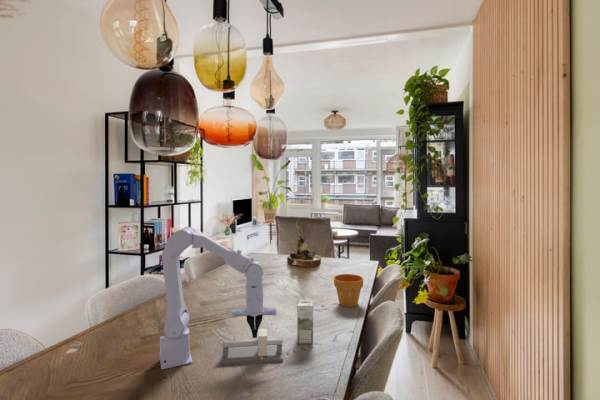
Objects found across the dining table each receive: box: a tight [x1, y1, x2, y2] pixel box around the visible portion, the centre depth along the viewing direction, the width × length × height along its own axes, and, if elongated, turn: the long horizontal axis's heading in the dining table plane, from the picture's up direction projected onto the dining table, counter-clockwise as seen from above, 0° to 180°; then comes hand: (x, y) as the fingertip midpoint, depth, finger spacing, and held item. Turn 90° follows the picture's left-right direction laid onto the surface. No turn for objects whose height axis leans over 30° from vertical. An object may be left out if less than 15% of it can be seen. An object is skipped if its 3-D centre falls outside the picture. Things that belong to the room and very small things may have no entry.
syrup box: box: [296, 300, 314, 345], centre depth 123 cm, size 6×6×14 cm
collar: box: [257, 327, 268, 356], centre depth 112 cm, size 3×6×7 cm, turn 6°
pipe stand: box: [220, 338, 284, 366], centre depth 112 cm, size 20×9×6 cm, turn 96°
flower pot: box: [333, 273, 364, 308], centre depth 161 cm, size 14×14×13 cm
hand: (254, 336), depth 112 cm, fingers closed
